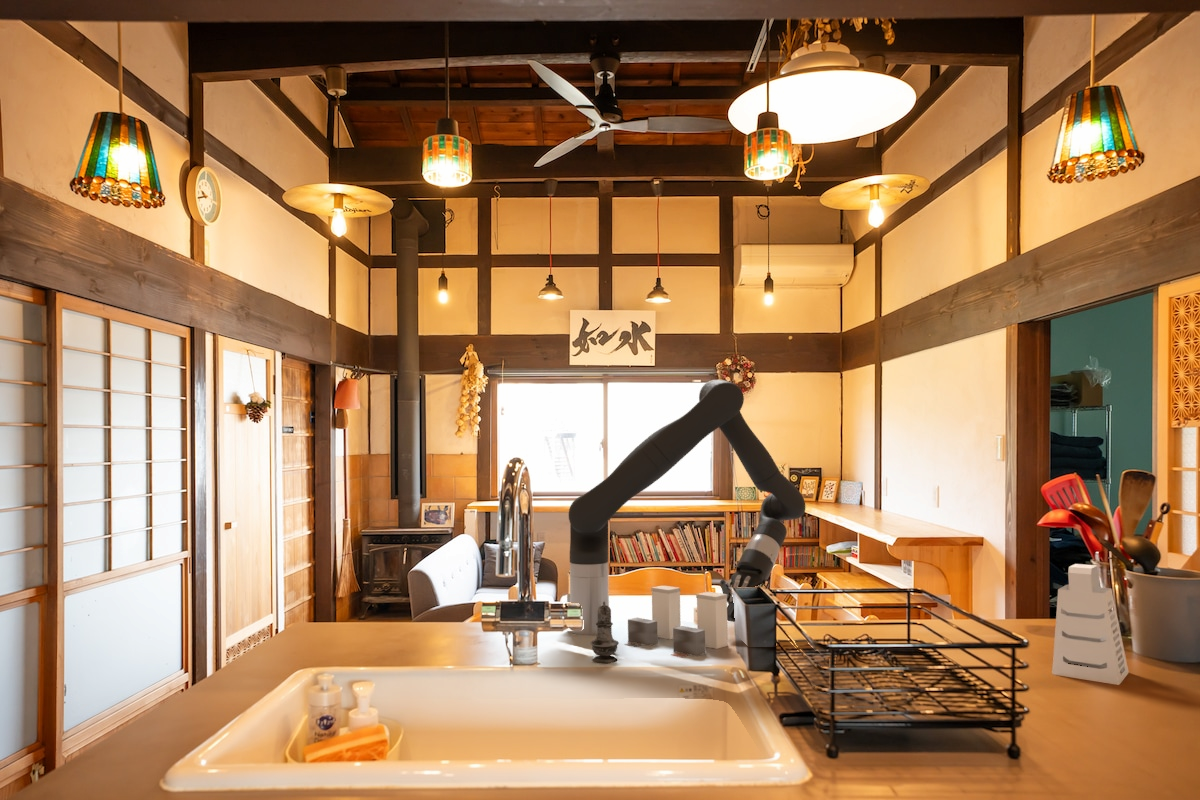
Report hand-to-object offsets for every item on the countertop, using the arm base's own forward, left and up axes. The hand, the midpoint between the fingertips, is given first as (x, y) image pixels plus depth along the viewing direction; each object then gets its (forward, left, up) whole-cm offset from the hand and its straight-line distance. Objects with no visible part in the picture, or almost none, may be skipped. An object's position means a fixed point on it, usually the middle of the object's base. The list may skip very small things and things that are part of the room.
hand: (729, 619), depth 165 cm
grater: (+62, +29, -6) cm, 69 cm away
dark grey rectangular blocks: (-6, -9, -6) cm, 13 cm away
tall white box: (0, -6, -5) cm, 8 cm away
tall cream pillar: (-13, -6, -5) cm, 15 cm away
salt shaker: (-12, -27, -6) cm, 30 cm away
